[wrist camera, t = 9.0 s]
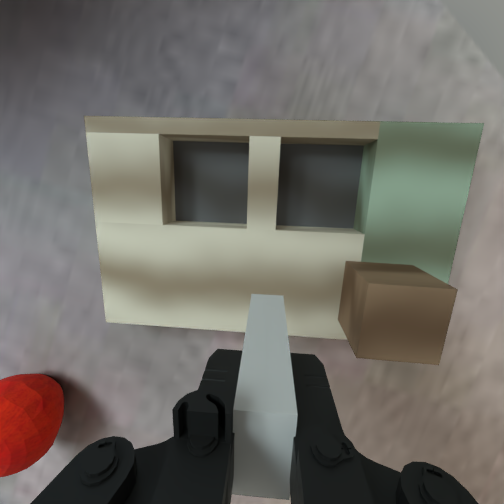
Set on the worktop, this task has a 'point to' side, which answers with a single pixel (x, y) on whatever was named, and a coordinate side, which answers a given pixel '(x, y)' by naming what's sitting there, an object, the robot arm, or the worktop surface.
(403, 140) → the shape sorter board
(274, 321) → the robot arm
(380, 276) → the block
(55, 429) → the apple
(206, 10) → the worktop surface
